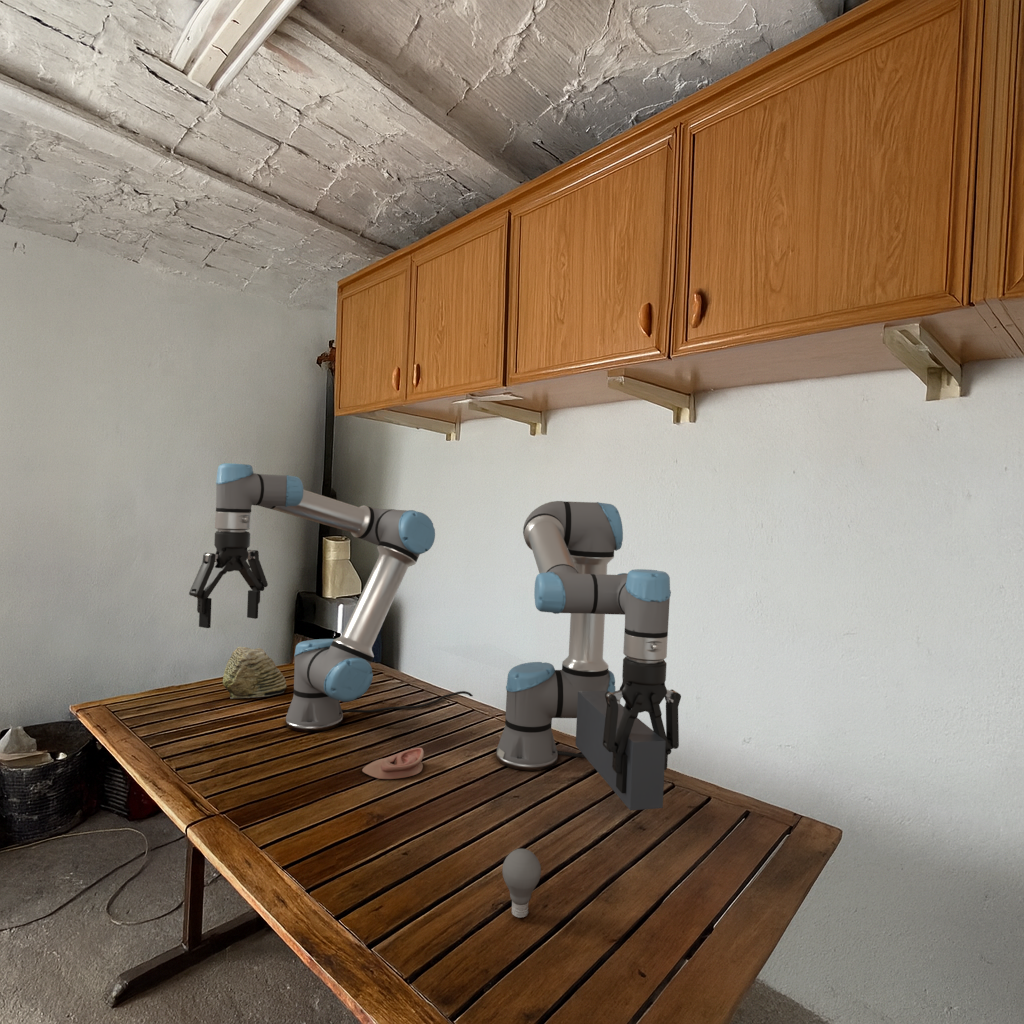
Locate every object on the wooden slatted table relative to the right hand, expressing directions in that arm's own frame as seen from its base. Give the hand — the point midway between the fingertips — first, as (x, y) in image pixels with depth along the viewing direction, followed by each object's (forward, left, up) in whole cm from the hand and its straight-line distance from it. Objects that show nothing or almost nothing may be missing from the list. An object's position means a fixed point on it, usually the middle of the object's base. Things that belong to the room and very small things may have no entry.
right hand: (638, 788), depth 112 cm
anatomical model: (+27, -55, -15) cm, 63 cm away
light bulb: (+25, +3, -15) cm, 29 cm away
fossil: (+51, -124, -15) cm, 135 cm away
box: (-3, -11, -2) cm, 11 cm away
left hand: (+63, -72, +19) cm, 97 cm away
